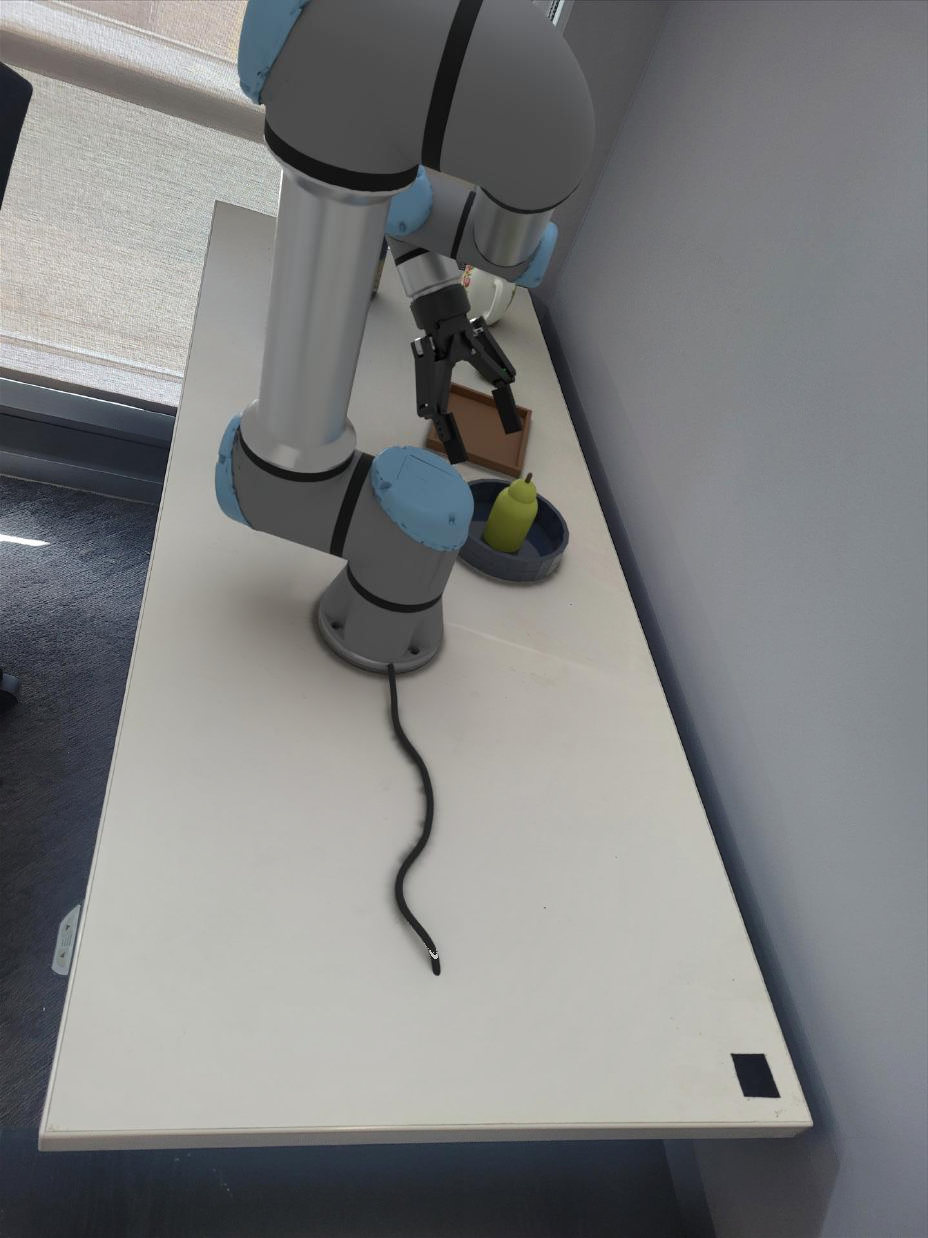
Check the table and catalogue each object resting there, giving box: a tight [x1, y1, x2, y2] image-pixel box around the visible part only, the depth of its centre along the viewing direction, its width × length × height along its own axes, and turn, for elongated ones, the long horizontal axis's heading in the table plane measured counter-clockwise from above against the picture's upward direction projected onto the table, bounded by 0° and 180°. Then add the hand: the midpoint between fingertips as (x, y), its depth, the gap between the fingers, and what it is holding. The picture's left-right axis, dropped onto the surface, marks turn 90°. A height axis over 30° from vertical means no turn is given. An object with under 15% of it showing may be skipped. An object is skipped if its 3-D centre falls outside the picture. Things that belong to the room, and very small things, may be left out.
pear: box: [483, 472, 538, 552], centre depth 115 cm, size 6×6×12 cm
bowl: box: [458, 478, 570, 583], centre depth 118 cm, size 18×18×4 cm
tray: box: [425, 381, 533, 479], centre depth 137 cm, size 20×16×2 cm
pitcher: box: [460, 264, 518, 326], centre depth 163 cm, size 11×18×14 cm, turn 6°
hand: (488, 447), depth 113 cm, fingers open, 13 cm apart
